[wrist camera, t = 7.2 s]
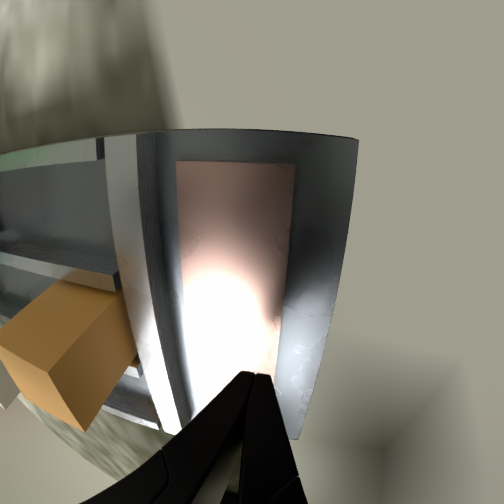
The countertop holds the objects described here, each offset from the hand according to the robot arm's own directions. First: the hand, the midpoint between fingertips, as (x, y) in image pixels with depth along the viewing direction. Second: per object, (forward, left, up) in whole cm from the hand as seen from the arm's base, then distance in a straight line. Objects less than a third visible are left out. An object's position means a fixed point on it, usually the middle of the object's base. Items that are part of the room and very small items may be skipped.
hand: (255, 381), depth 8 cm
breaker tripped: (0, +6, -2) cm, 6 cm away
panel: (0, +10, -3) cm, 11 cm away
